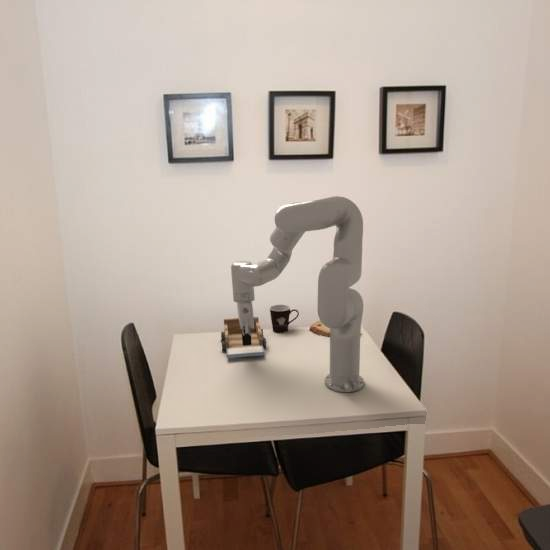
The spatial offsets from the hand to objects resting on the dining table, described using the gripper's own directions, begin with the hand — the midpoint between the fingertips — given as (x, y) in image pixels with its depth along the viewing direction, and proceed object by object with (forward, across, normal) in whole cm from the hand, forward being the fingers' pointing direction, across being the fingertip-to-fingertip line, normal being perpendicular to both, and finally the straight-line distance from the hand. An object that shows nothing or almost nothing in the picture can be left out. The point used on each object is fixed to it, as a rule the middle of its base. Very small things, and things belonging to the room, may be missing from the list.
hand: (247, 344), depth 171 cm
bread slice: (+7, +20, -38) cm, 44 cm away
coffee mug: (+6, +26, -17) cm, 31 cm away
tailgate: (+4, +6, +1) cm, 7 cm away
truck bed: (+6, +15, +1) cm, 16 cm away
